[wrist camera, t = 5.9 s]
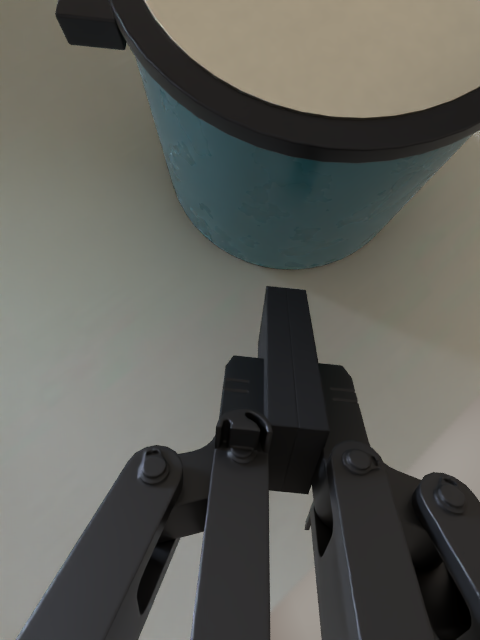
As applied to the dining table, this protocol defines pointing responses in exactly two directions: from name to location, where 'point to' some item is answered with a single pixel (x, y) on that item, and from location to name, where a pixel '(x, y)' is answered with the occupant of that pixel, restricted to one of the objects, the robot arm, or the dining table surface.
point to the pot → (296, 110)
